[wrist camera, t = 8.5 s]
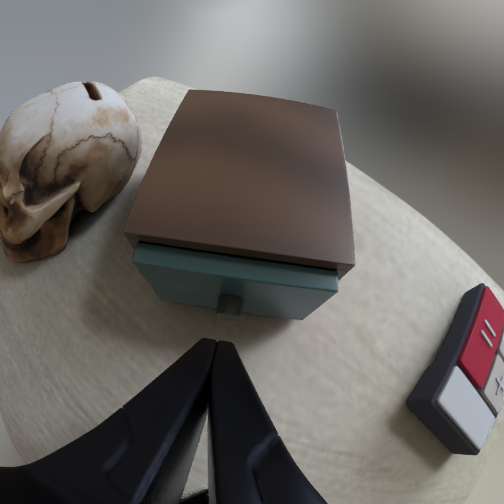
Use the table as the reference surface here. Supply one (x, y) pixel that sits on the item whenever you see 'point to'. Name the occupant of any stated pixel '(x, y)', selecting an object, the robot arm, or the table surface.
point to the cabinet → (249, 182)
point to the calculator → (465, 376)
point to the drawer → (234, 282)
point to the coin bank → (62, 164)
